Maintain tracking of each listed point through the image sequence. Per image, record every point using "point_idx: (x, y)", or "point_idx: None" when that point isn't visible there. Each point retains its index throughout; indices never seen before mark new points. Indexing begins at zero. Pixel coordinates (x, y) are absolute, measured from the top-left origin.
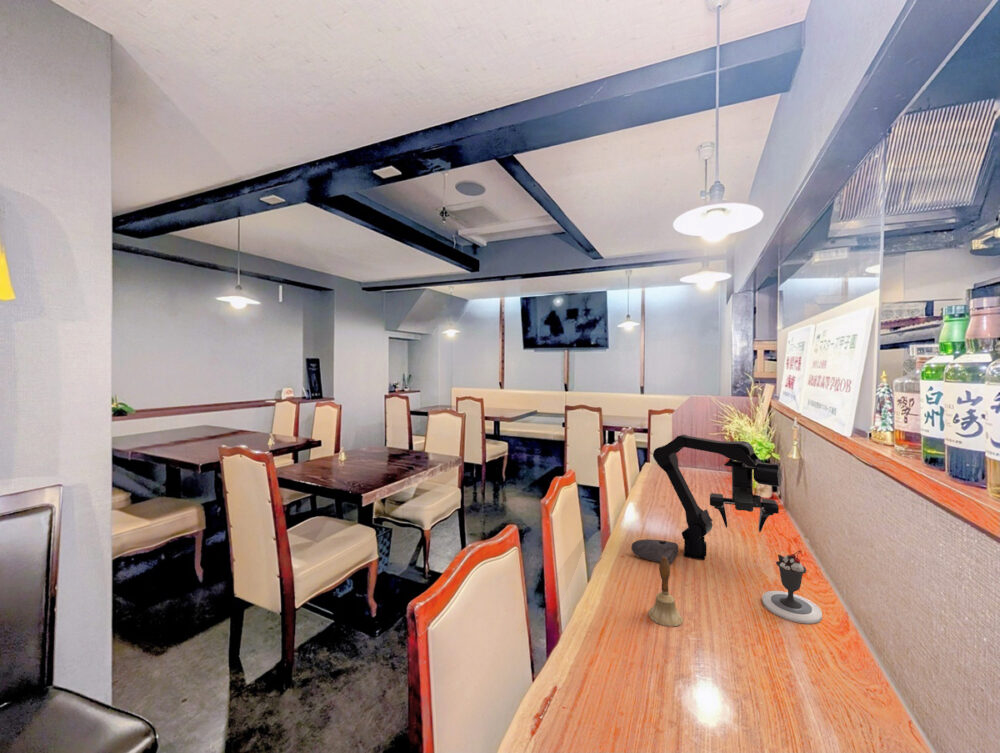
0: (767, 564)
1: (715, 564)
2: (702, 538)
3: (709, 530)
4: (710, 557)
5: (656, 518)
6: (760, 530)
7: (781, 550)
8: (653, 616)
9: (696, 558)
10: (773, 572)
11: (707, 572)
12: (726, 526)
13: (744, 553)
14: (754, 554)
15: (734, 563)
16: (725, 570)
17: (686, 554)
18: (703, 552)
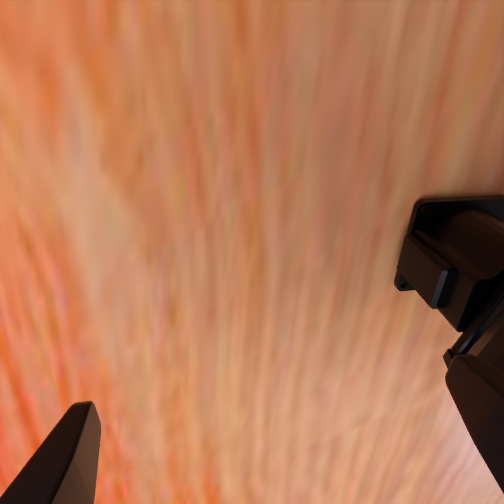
0: (112, 307)
1: (367, 181)
2: (476, 306)
3: (492, 349)
4: (375, 251)
5: None
6: (67, 421)
7: None
8: None
9: (455, 198)
10: (76, 232)
11: (439, 40)
12: (475, 360)
13: (214, 362)
14: (172, 372)
15: (267, 241)
16: (326, 127)
17: (500, 212)
18: (433, 237)
